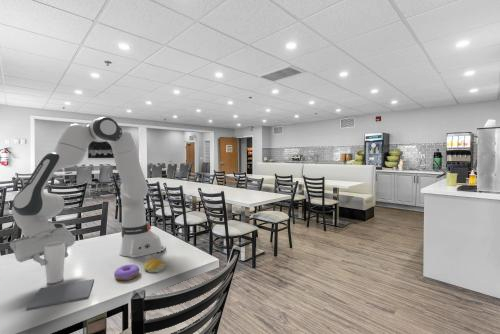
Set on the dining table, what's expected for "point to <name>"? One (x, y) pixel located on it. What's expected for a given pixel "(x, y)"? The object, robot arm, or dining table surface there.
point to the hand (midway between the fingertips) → (55, 260)
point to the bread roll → (154, 265)
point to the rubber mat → (61, 294)
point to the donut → (126, 272)
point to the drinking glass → (54, 261)
